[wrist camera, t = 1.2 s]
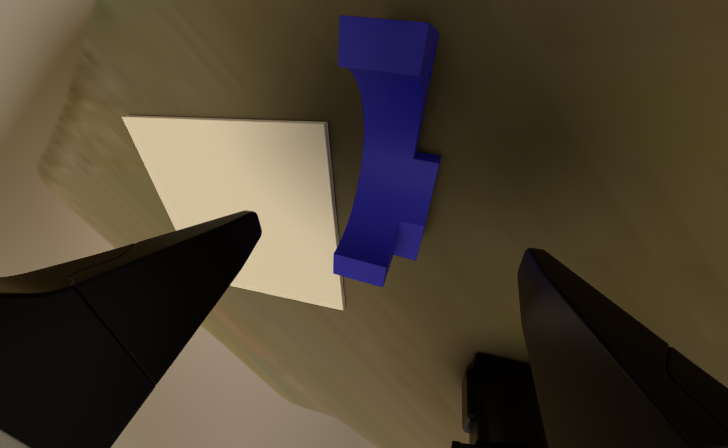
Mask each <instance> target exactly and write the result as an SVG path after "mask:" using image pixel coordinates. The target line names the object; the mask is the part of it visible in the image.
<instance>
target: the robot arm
mask: <svg viewBox="0 0 728 448" xmlns="http://www.w3.org/2000/svg"><path fill="white" fill-rule="evenodd" d="M261 235H262V229H261V225H260V222H259V218H258V215H257V213H256V212H254V211H247V210H244V211H241V212H237V213H234V214H231V215H227V216H224V217H221V218H217V219H214V220H211V221H207V222H204V223H201V224H197V225H194V226H191V227H187V228H184V229H181V230H177V231H174V232H171V233H167V234H164V235H161V236H157V237H154V238H151V239H147V240H144V241H140V242H137V243H136V244H135V243H134V244H130V245H127V246H124V247H120V248H117V249H113V250H110V251H106V252H103V253H100V254H96V255H92V256H89V257H85V258H81V259H77V260H74V261H70V262H66V263H62V264H58V265H54V266H51V267H47V268H44V269H40V270H36V271H32V272H28V273H24V274H19V275H14V276H8V277H0V448H111V446H112V445H113V444H114V442H115V441H116V440H117V438H118V437H119V436H120V434H121V432H122V431H123V430H124V429H125V427H126V426H127V425H128V423H129V422H130V421H131V419H132V417H134V415H135V414H136V412H137V411H138V410H139V408H140V407H141V406H142V404H143V403H144V401H145V400H146V399H147V397H148V396H149V395H150V393H151V392H152V391H153V389H154V388H155V385H156V384H157V383H158V382H159V381H160V379H161V378H162V377H163V375H164V374H165V373H166V371H167V369H168V368H169V367H170V366H171V364H172V363H173V362H174V360H175V359H176V358H177V356H178V355H179V353H180V352H181V351H182V350H183V348H184V347H185V345H186V344H187V343H188V341H189V340H190V339H191V337H192V336H193V335H194V333H195V332H196V330H197V329H198V327H199V326H200V325H201V324H202V322H203V321H204V320H205V318H206V317H207V316H208V314H209V313H210V311H211V310H212V309H213V307H214V306H215V305H216V303H217V302H218V301H219V299H220V298H221V297H222V295H223V294H224V292H225V291H226V290H227V288H228V287H229V286H230V284H231V283H232V282H233V280H234V279H235V278H236V276H237V275H238V273H239V272H240V271H241V269H242V268H243V266H244V264H245V263H246V261H247V259H248V258H249V256H250V254H251V253H252V251H253V249H254V248H255V246H256V244H257V243H258V241H259V239H260V237H261ZM518 288H519V300H520V312H521V322H522V328H523V333H524V338H525V342H526V347H527V352H528V356H529V361H530V365H527V364H522V363H518V362H514V361H509V360H505V359H501V358H496V357H492V356H488V355H484V354H476V355H475V356H474V359H473V362H472V366H471V369H468V370H467V371H466V373H465V376H464V380H463V383H462V428H463V430H464V432H466V433H469V434H470V444H464V443H460V442H459V441H452V447H451V448H728V388H727V387H725V386H724V385H723V384H721V383H720V382H718V381H717V380H716V379H714V378H713V377H712V376H710V375H709V374H708V373H706V372H705V371H704V370H702V369H701V368H699V367H698V366H697V365H695V364H694V363H693V362H691V361H690V360H689V359H687V358H686V357H685V356H684V355H682V354H681V353H680V352H678V351H677V350H676V349H674V348H673V347H669V345H668V343H666V342H665V341H664V340H662V339H661V338H660V337H658V336H657V335H656V334H654V333H653V332H652V331H650V330H649V329H648V328H646V327H645V326H644V325H642V324H641V323H640V322H639V321H637V320H636V319H635V318H633V317H632V316H631V315H629V314H628V313H627V312H625V311H624V310H623V309H621V308H620V307H619V306H617V305H616V304H615V303H613V302H612V301H611V300H609V299H608V298H607V297H606V296H604V295H603V294H602V293H600V292H599V291H598V290H596V289H595V288H594V287H592V286H591V285H590V284H588V283H587V282H586V281H584V280H583V279H582V278H580V277H579V276H578V275H576V274H575V273H574V272H573V271H571V270H570V269H569V268H567V267H566V266H565V265H563V264H562V263H561V262H559V261H558V260H557V259H555V258H554V257H553V256H551V255H550V254H549V253H547V252H546V251H545V250H542V249H534V248H528V249H527V250H526V251H525V253H524V256H523V259H522V261H521V264H520V267H519V270H518Z"/></svg>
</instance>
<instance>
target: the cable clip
mask: <svg viewBox="0 0 728 448" xmlns="http://www.w3.org/2000/svg"><path fill="white" fill-rule="evenodd" d="M438 36H439V32H438V31H437V30H436V29H435V28H434V27H433V26H432V25H431V24H430V23H427V22H415V21H403V20H391V19H379V18H367V17H354V16H342V15H340V23H339V62H338V67H345V68H347V69H348V70H350V71H351V73H352V74H353V75H354V77H355V79H356V81H357V84H358V86H359V90H360V93H361V98H362V104H363V114H364V145H363V157H362V165H361V172H360V178H359V183H358V188H357V193H356V197H355V201H354V205H353V208H352V212H351V215H350V218H349V221H348V224H347V226H346V229H345V232H344V234H343V236H342V239H341V241H340V243H339V245H338V247H337V249H336V250H335V252H334V256H333V274H337V275H340V276H344V277H348V278H351V279H355V280H358V281H362V282H366V283H369V284H373V285H377V286H380V287H383V285H384V282H385V279H386V276H387V273H388V270H389V267H390V263H391V260H392V257H393V255H396V256H400V257H404V258H408V259H412V260H416V259H417V255H418V251H419V247H420V243H421V239H422V235H423V231H424V227H425V223H426V218H427V214H428V210H429V205H430V201H431V197H432V193H433V188H434V184H435V180H436V176H437V172H438V168H439V164H440V158H441V156H437V155H432V154H426V153H420V152H416V150H417V145H418V140H419V134H420V129H421V124H422V119H423V114H424V109H425V103H426V98H427V93H428V88H429V83H430V78H431V73H432V67H433V62H434V57H435V52H436V47H437V42H438Z"/></svg>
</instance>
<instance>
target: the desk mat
mask: <svg viewBox="0 0 728 448" xmlns="http://www.w3.org/2000/svg"><path fill="white" fill-rule="evenodd" d="M122 118H123V121H124V123H125V125H126V127H127V129H128V131H129V133H130V135H131V137H132V139H133V141H134V144H135V146H136V148H137V150H138V152H139V154H140V156H141V158H142V160H143V162H144V164H145V167H146V169H147V171H148V173H149V175H150V177H151V179H152V181H153V183H154V185H155V187H156V190H157V192H158V194H159V196H160V198H161V200H162V202H163V204H164V206H165V208H166V210H167V213H168V215H169V217H170V219H171V221H172V223H173V225H174V227H175V229H176V231H177V230H181V229H184V228H187V227H191V226H194V225H197V224H201V223H204V222H207V221H211V220H214V219H217V218H221V217H224V216H227V215H231V214H234V213H237V212H241V211H244V210H247V211H254V212H256V213H257V215H258V218H259V222H260V225H261V229H262V235H261V237H260V239H259V241H258V243H257V244H256V246H255V248H254V249H253V251H252V253H251V254H250V256H249V258H248V259H247V261H246V263H245V264H244V266H243V268H242V269H241V271H240V272H239V273H238V275H237V276H236V278H235V279H234V280H233V282H232V283H231V284H230V286H234V287H239V288H243V289H248V290H252V291H257V292H261V293H266V294H271V295H275V296H280V297H284V298H289V299H293V300H298V301H302V302H307V303H311V304H316V305H320V306H325V307H329V308H334V309H338V310H344V308H345V297H344V287H343V276H340V275H337V274H333V256H334V252H335V250H336V249H337V247H338V245H339V235H338V225H337V214H336V204H335V193H334V183H333V173H332V162H331V152H330V142H329V131H328V122H314V121H285V120H255V119H225V118H195V117H166V116H136V115H128V116H123V117H122Z"/></svg>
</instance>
